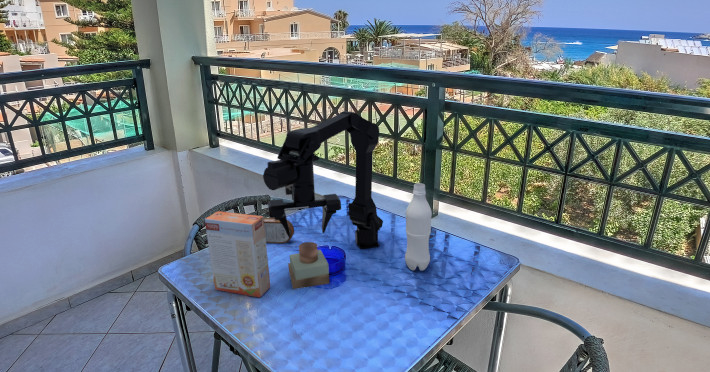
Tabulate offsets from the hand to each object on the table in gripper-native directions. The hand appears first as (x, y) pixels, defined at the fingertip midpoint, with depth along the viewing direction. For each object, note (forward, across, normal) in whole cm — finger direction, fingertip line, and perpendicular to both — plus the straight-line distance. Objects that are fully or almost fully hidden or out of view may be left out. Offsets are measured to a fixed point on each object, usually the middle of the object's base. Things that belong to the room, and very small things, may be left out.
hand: (306, 234), depth 113 cm
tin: (+13, +9, -25) cm, 30 cm away
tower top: (+11, 0, 0) cm, 11 cm away
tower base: (+14, 0, 0) cm, 14 cm away
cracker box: (+13, +18, +1) cm, 22 cm away
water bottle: (+13, -31, +3) cm, 34 cm away
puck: (+8, 0, 0) cm, 8 cm away
